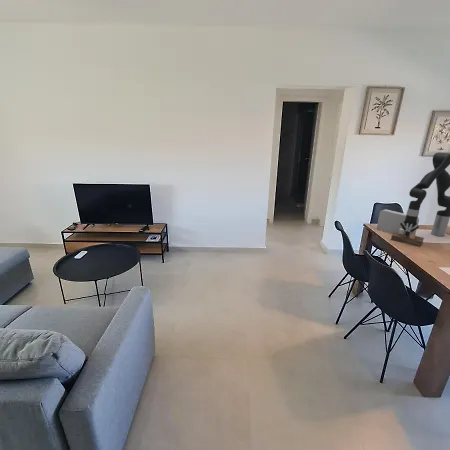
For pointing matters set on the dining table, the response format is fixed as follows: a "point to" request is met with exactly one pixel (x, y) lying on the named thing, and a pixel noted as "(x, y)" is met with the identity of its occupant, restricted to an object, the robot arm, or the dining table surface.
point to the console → (407, 239)
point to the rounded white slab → (392, 221)
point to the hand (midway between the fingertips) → (406, 235)
